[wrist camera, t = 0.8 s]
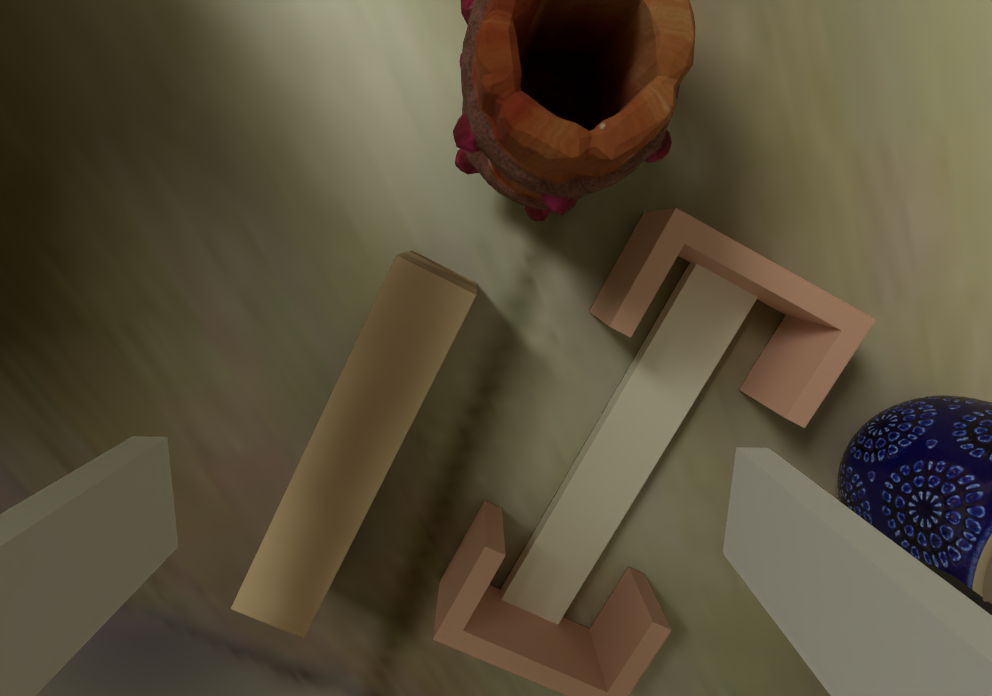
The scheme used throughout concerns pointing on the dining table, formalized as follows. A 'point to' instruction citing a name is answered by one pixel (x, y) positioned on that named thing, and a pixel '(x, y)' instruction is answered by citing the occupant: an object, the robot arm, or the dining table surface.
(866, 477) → the planter
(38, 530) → the robot arm
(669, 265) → the endcap rail
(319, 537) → the tan wooden beam
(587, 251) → the dining table surface
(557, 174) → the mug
